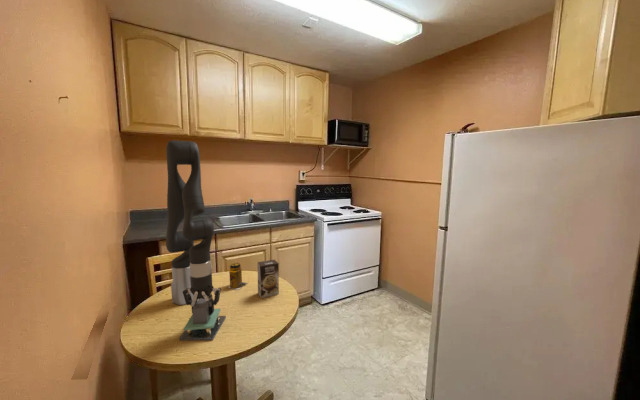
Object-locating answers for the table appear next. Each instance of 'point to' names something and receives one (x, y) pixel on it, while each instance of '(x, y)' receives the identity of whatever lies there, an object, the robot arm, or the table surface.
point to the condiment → (236, 276)
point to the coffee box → (268, 278)
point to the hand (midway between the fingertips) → (203, 314)
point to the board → (203, 326)
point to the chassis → (203, 331)
